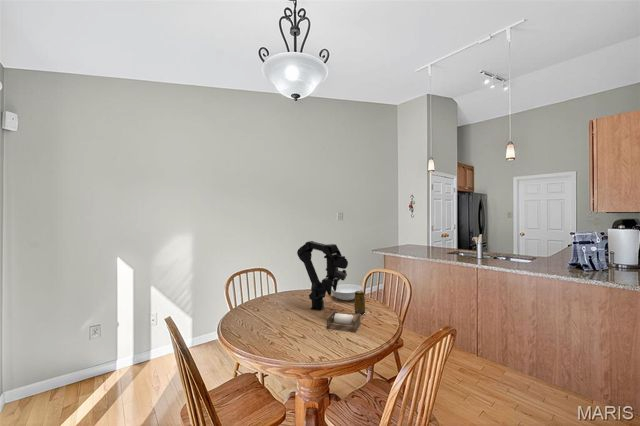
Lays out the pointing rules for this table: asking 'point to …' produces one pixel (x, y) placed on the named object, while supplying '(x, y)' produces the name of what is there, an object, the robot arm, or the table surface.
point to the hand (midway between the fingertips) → (332, 293)
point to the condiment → (359, 303)
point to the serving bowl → (346, 291)
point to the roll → (343, 319)
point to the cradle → (340, 326)
